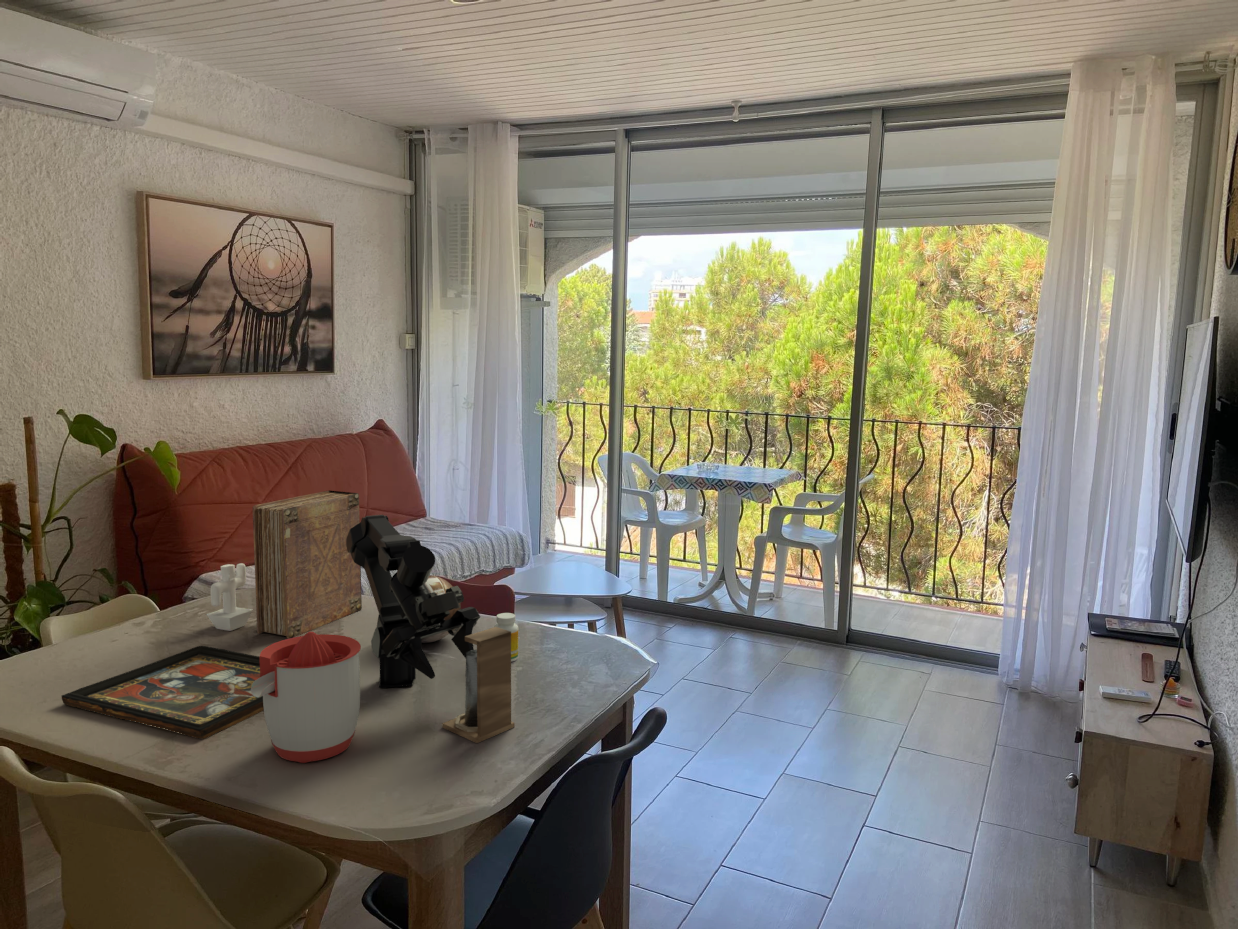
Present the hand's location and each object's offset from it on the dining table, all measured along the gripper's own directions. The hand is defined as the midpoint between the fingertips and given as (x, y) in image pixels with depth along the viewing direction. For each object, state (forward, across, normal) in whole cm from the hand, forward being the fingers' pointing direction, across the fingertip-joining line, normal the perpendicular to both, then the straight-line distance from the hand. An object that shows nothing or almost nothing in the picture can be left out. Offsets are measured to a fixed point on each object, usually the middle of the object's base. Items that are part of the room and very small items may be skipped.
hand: (453, 670), depth 156 cm
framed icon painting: (-25, -25, +39) cm, 52 cm away
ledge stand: (+11, 0, +2) cm, 11 cm away
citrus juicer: (+1, -24, +12) cm, 27 cm away
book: (-42, +13, +55) cm, 70 cm away
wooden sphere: (-19, +22, +32) cm, 44 cm away
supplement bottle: (-4, +26, +17) cm, 32 cm away
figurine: (-49, -2, +62) cm, 79 cm away
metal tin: (+10, 0, +1) cm, 10 cm away
